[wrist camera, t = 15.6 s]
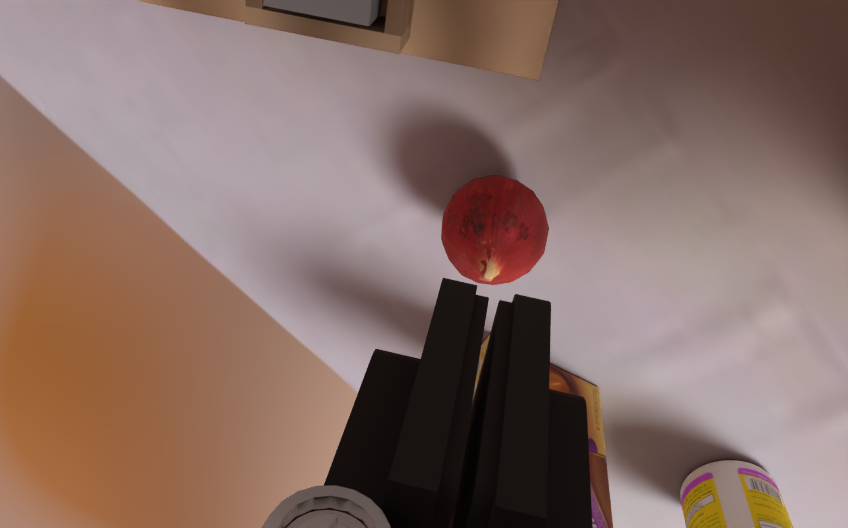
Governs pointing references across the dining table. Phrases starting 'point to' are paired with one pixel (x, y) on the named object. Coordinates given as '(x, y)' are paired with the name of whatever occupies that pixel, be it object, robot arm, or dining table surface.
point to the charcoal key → (333, 9)
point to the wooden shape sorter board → (418, 29)
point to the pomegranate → (494, 230)
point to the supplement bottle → (732, 497)
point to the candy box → (597, 454)
